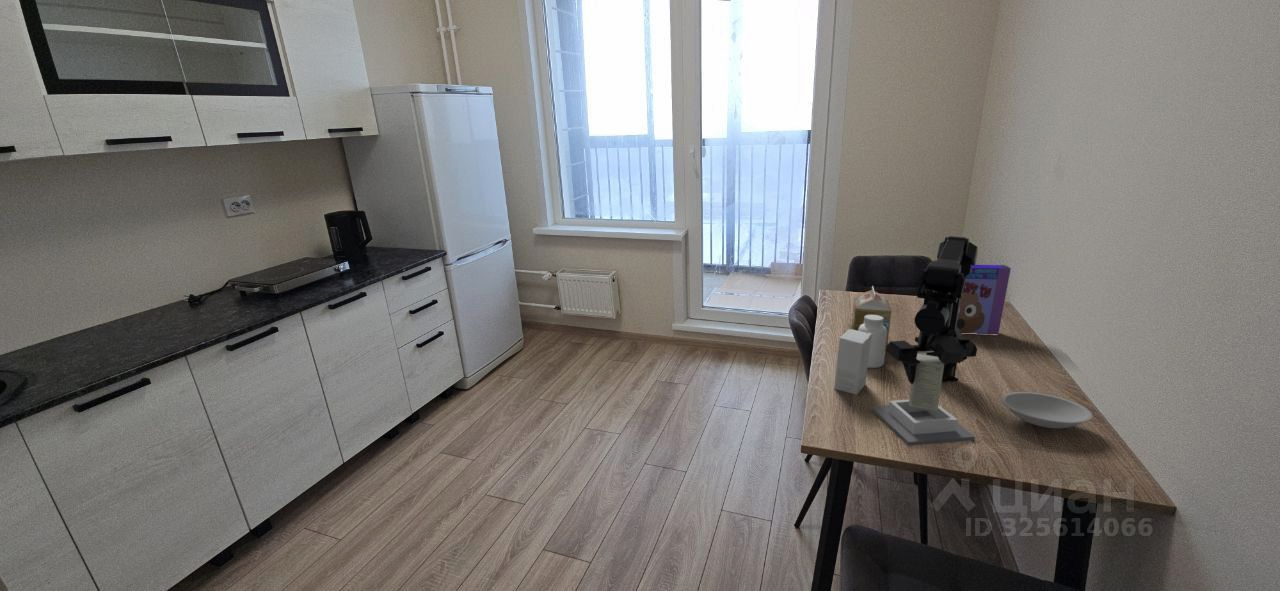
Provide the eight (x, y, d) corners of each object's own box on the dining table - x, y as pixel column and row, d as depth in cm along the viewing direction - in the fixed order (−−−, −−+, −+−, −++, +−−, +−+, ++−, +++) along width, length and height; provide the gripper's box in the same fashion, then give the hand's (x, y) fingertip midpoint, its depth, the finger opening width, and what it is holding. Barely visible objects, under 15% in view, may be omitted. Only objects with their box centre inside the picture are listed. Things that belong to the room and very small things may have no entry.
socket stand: (930, 406, 135) (932, 392, 134) (974, 440, 119) (977, 425, 118) (871, 410, 133) (872, 396, 132) (908, 445, 118) (910, 430, 117)
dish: (1008, 435, 121) (1012, 416, 120) (989, 405, 134) (993, 388, 133) (1100, 447, 116) (1106, 427, 114) (1071, 415, 129) (1076, 396, 127)
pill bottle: (857, 356, 165) (862, 311, 161) (885, 361, 162) (890, 315, 157) (853, 365, 159) (857, 319, 155) (881, 370, 155) (887, 323, 151)
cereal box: (942, 333, 182) (953, 266, 175) (937, 329, 186) (947, 263, 179) (997, 336, 179) (1010, 267, 171) (991, 331, 183) (1003, 264, 176)
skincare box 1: (843, 378, 151) (848, 328, 146) (867, 384, 147) (873, 333, 142) (833, 389, 145) (838, 337, 140) (857, 396, 141) (863, 342, 136)
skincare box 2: (938, 404, 125) (946, 357, 122) (937, 412, 122) (945, 364, 118) (909, 397, 128) (916, 352, 125) (907, 405, 125) (914, 358, 121)
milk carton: (850, 337, 181) (855, 284, 175) (883, 340, 177) (889, 286, 172) (851, 349, 171) (856, 293, 166) (886, 352, 168) (893, 296, 162)
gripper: (918, 335, 110) (908, 401, 115) (1001, 330, 112) (988, 395, 116) (889, 317, 121) (881, 379, 125) (965, 313, 122) (954, 373, 127)
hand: (926, 382), depth 123 cm, fingers closed on skincare box 2, 7 cm apart
